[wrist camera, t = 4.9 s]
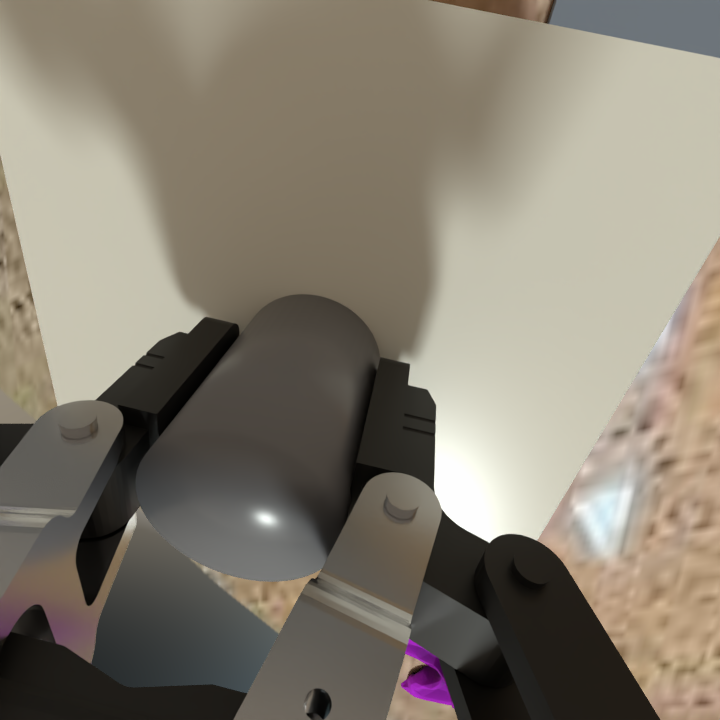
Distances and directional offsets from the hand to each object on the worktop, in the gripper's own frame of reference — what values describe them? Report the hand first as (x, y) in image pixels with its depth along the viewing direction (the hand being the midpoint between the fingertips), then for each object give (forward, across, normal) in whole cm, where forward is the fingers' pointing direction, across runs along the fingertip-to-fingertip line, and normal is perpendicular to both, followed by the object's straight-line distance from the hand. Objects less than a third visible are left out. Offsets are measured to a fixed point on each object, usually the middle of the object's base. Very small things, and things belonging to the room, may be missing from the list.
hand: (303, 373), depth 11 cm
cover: (+2, 0, 0) cm, 2 cm away
